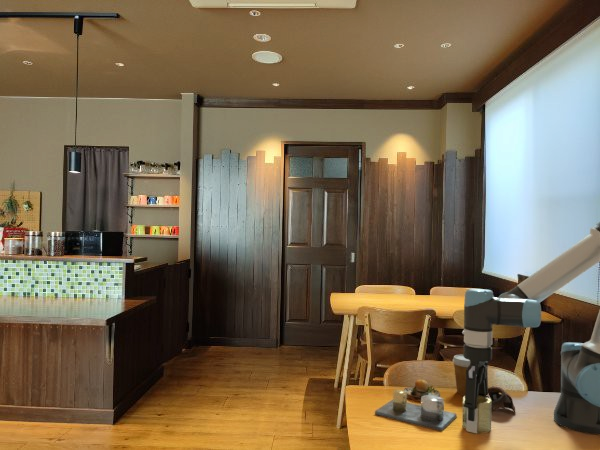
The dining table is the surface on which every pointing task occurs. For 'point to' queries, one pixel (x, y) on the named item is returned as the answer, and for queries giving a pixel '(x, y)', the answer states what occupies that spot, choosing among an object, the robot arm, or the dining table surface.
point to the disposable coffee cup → (461, 372)
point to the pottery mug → (500, 399)
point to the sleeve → (480, 414)
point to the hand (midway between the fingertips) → (476, 426)
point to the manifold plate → (417, 411)
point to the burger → (420, 390)
